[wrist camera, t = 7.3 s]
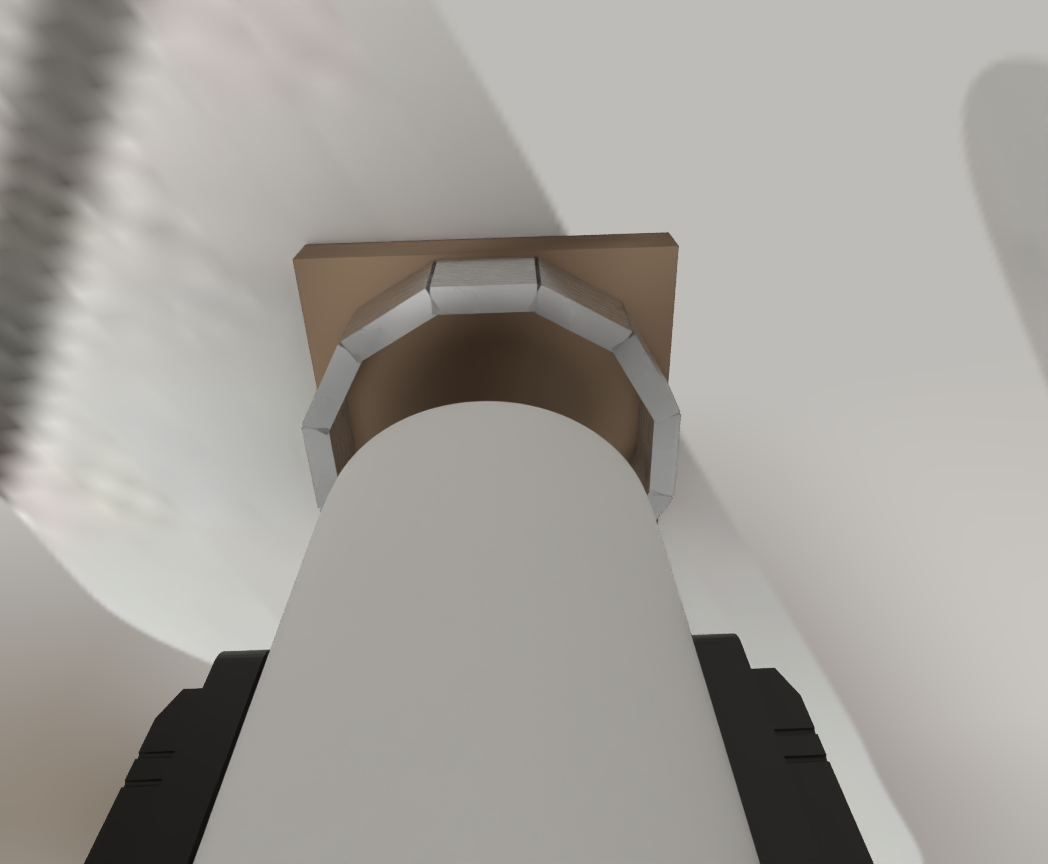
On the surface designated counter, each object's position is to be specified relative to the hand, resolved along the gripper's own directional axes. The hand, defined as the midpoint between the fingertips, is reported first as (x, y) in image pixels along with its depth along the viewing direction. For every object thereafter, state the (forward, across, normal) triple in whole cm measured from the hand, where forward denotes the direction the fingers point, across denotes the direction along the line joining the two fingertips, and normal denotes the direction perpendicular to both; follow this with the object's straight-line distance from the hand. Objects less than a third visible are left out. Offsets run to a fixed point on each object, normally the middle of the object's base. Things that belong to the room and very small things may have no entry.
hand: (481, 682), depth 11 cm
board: (+10, 0, 0) cm, 10 cm away
